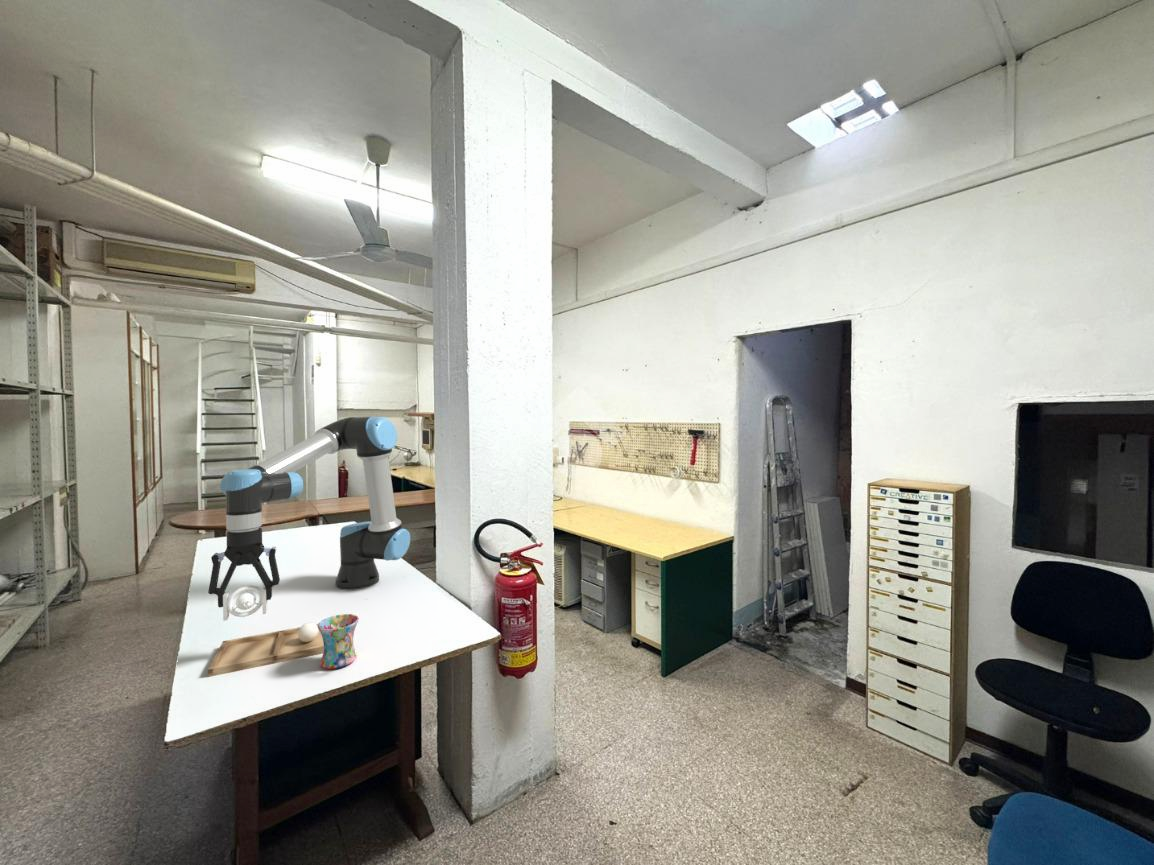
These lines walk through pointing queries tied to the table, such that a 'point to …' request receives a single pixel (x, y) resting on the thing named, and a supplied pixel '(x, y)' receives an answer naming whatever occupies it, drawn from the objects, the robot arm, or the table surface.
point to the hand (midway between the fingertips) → (246, 615)
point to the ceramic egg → (308, 632)
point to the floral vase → (338, 640)
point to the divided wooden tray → (263, 651)
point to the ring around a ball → (245, 601)
